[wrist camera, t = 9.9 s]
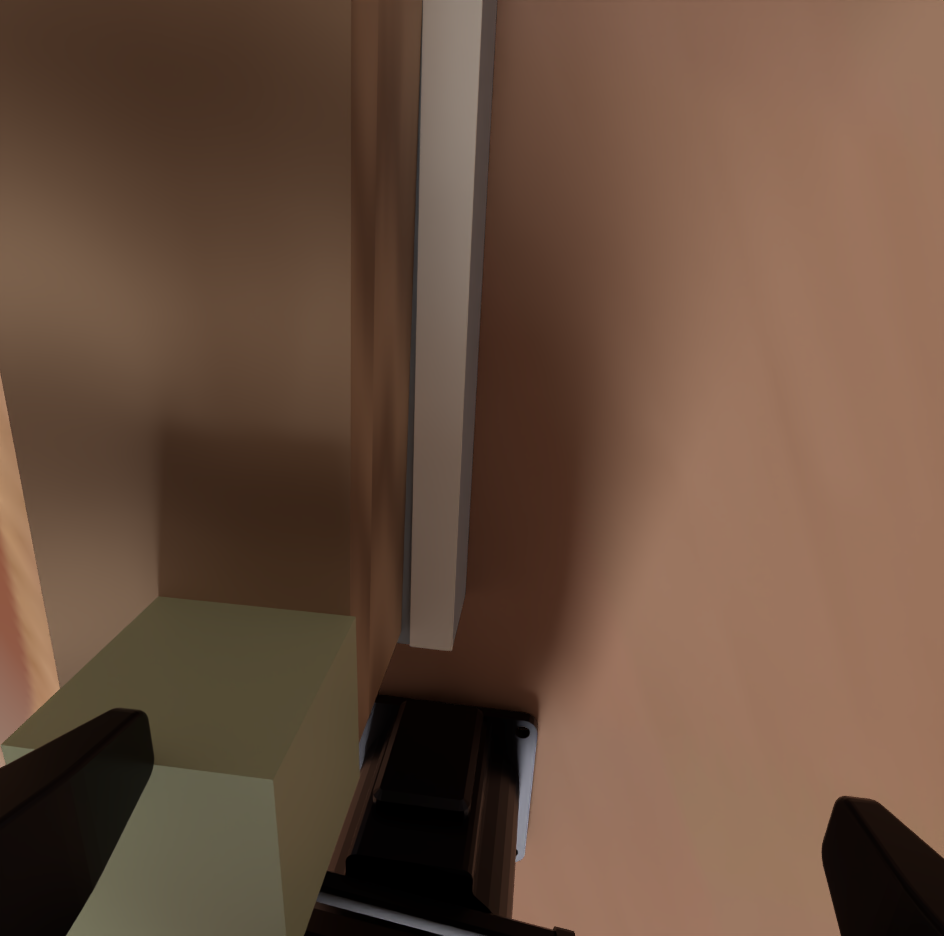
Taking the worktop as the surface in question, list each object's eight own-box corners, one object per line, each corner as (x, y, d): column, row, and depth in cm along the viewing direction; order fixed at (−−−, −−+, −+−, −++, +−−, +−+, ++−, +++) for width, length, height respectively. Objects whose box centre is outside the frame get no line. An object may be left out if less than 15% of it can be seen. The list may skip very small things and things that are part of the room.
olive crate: (359, 777, 14) (289, 976, 10) (181, 754, 15) (52, 938, 11) (355, 616, 13) (272, 780, 9) (158, 596, 13) (-1, 744, 9)
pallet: (401, 630, 19) (350, 766, 14) (185, 603, 19) (67, 725, 15) (445, -687, 10) (352, -1449, 6) (56, -668, 11) (-325, -1345, 6)
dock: (465, 594, 22) (451, 651, 19) (201, 566, 22) (148, 616, 19) (525, -529, 13) (517, -748, 10) (89, -507, 14) (-36, -704, 11)
